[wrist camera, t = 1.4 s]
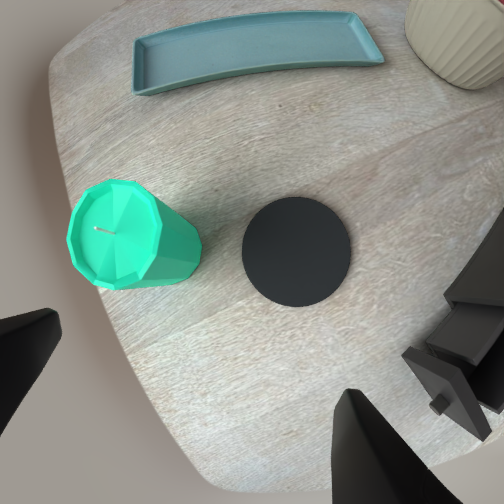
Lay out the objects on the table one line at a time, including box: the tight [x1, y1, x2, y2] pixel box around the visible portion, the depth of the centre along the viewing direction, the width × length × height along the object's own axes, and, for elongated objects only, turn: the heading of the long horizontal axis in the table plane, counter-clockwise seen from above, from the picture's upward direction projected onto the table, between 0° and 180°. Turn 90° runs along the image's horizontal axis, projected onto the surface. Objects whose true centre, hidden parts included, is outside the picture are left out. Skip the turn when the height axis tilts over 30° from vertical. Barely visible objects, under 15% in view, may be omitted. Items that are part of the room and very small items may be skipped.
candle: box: [66, 179, 202, 290], centre depth 18 cm, size 6×6×12 cm
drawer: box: [401, 302, 504, 442], centre depth 18 cm, size 20×9×8 cm, turn 130°
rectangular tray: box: [131, 10, 385, 96], centre depth 25 cm, size 26×9×2 cm, turn 101°
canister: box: [405, 0, 504, 90], centre depth 15 cm, size 18×18×21 cm
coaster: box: [242, 197, 351, 307], centre depth 24 cm, size 9×9×1 cm
